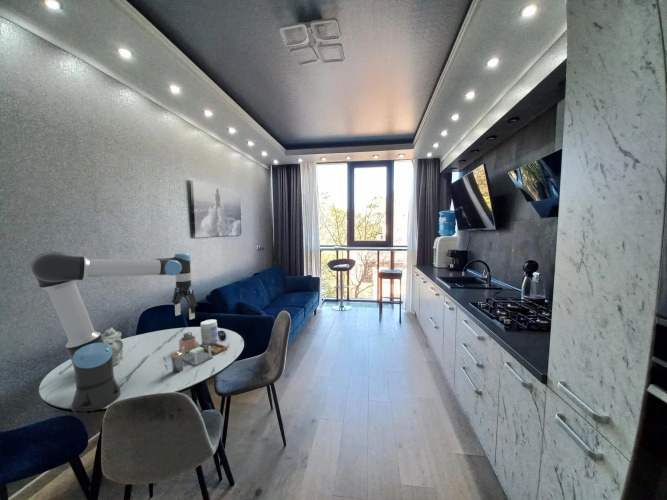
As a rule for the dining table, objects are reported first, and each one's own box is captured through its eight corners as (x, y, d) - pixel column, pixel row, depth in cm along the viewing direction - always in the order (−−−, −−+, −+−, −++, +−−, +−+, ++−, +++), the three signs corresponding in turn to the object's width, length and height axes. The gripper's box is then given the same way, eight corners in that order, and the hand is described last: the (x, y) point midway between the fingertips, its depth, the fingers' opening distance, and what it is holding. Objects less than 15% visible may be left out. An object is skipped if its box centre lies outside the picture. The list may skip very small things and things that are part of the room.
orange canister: (185, 353, 148) (184, 337, 147) (177, 350, 152) (176, 334, 151) (198, 348, 155) (197, 332, 154) (190, 345, 159) (189, 330, 158)
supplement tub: (216, 346, 157) (214, 323, 156) (199, 348, 156) (197, 325, 155) (220, 340, 167) (218, 318, 166) (205, 341, 165) (203, 319, 164)
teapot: (104, 374, 128) (101, 338, 126) (81, 371, 131) (77, 336, 129) (135, 358, 144) (133, 326, 142) (114, 355, 147) (111, 324, 145)
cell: (175, 374, 127) (174, 355, 126) (170, 371, 129) (169, 352, 129) (184, 369, 131) (183, 351, 130) (180, 367, 133) (178, 349, 133)
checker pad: (193, 355, 138) (193, 352, 138) (189, 353, 140) (189, 350, 140) (203, 350, 143) (203, 348, 143) (199, 349, 145) (199, 346, 145)
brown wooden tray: (215, 354, 146) (215, 352, 146) (203, 350, 152) (202, 347, 152) (227, 349, 153) (227, 346, 153) (215, 344, 159) (214, 342, 159)
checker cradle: (195, 366, 134) (194, 353, 134) (181, 359, 141) (180, 347, 141) (212, 358, 143) (212, 346, 142) (198, 352, 150) (197, 340, 149)
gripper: (203, 281, 141) (204, 318, 142) (177, 277, 153) (178, 311, 154) (190, 283, 134) (191, 322, 136) (164, 279, 146) (165, 315, 147)
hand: (184, 316), depth 145 cm, fingers open, 13 cm apart
